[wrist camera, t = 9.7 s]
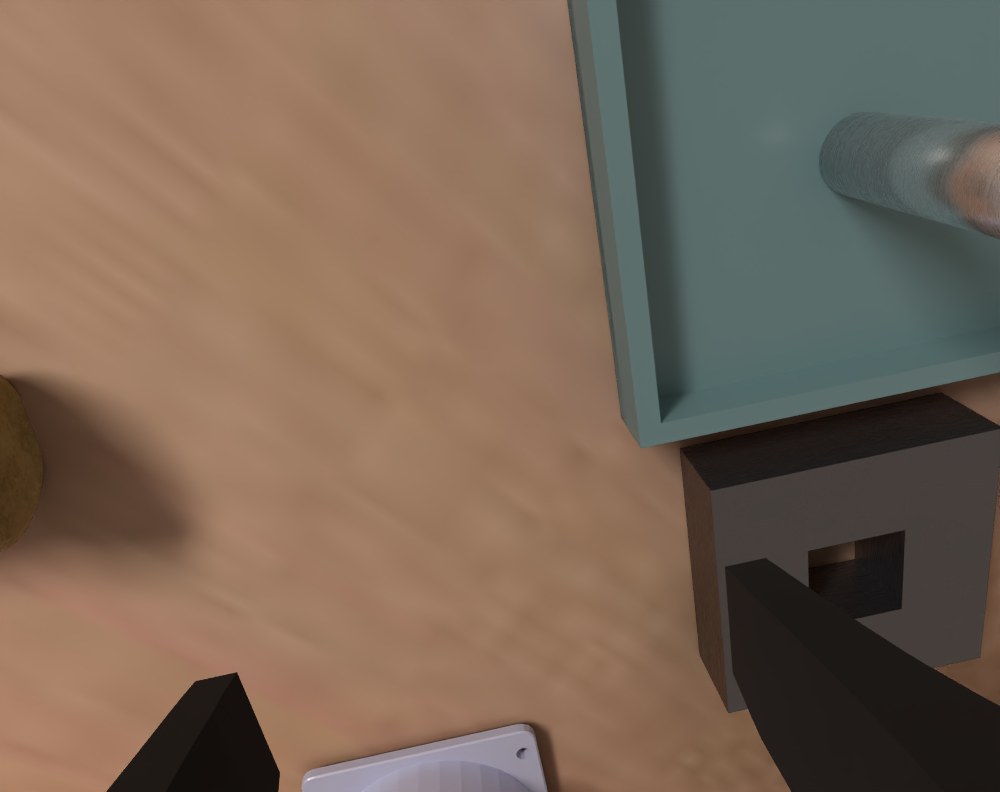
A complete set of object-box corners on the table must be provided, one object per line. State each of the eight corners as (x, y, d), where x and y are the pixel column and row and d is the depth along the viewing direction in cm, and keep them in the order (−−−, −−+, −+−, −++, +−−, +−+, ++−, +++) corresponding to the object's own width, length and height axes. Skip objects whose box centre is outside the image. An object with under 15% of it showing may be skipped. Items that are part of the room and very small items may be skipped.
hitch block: (928, 605, 25) (980, 657, 23) (699, 655, 25) (728, 713, 22) (941, 392, 22) (1003, 428, 19) (679, 448, 22) (710, 490, 19)
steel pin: (917, 209, 19) (1287, 310, 11) (791, 234, 19) (1073, 353, 11) (928, 68, 18) (1363, 67, 10) (792, 93, 17) (1117, 112, 9)
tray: (1064, 323, 21) (1124, 345, 19) (621, 417, 21) (641, 448, 19) (1137, -241, 16) (1230, -284, 14) (551, -127, 16) (568, -156, 14)
